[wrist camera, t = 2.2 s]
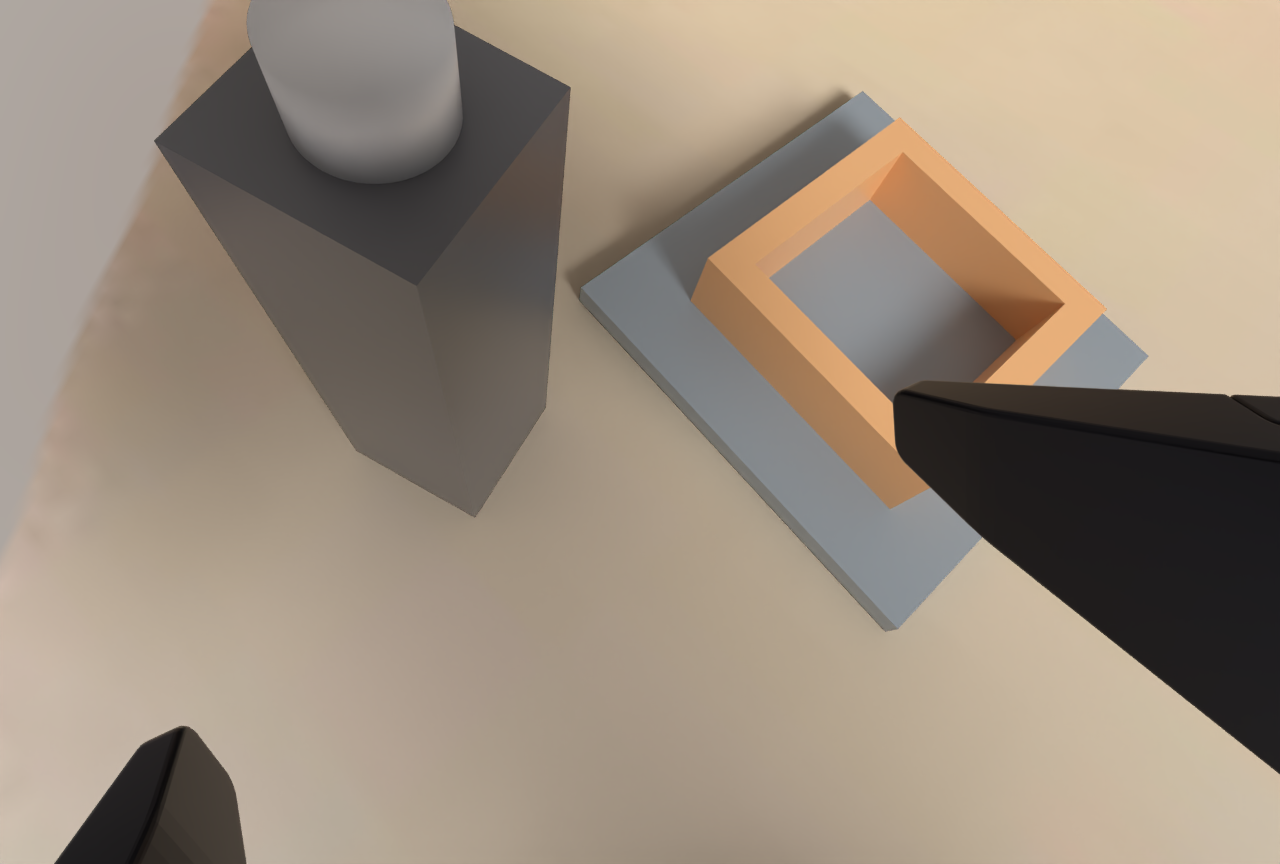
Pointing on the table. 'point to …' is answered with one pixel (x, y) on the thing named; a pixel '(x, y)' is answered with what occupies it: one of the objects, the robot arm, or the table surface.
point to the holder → (850, 335)
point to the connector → (392, 223)
